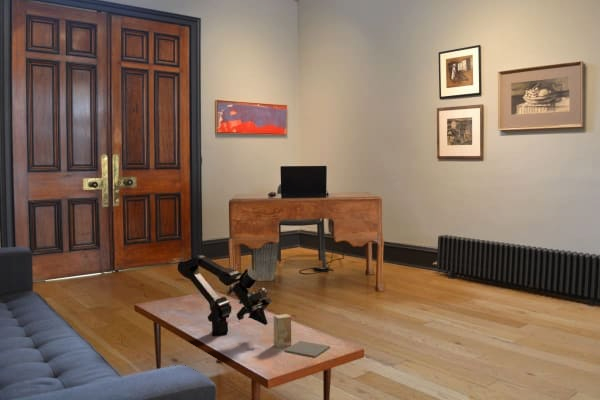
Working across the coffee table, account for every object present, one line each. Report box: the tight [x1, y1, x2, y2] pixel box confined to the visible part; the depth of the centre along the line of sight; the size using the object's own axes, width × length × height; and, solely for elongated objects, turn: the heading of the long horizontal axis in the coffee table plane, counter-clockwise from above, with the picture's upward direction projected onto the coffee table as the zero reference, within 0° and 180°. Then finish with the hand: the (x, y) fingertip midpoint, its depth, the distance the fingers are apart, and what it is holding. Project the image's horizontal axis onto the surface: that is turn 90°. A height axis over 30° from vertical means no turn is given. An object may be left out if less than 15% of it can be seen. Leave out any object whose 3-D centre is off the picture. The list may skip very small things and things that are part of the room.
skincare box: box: [273, 313, 292, 349], centre depth 222 cm, size 6×4×12 cm
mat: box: [284, 340, 331, 358], centre depth 217 cm, size 14×12×1 cm
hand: (266, 324), depth 226 cm, fingers closed
